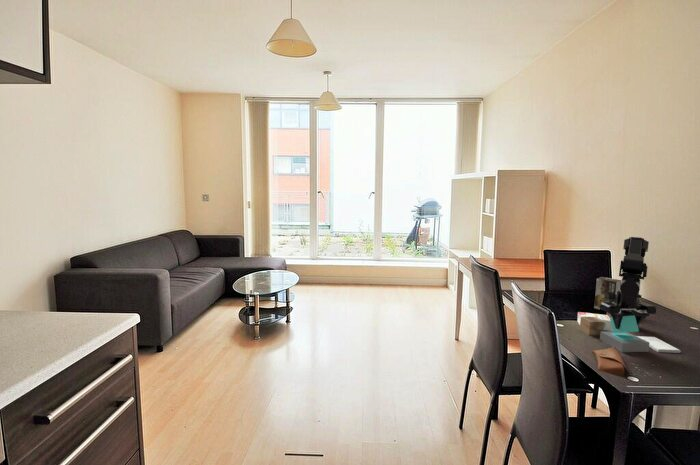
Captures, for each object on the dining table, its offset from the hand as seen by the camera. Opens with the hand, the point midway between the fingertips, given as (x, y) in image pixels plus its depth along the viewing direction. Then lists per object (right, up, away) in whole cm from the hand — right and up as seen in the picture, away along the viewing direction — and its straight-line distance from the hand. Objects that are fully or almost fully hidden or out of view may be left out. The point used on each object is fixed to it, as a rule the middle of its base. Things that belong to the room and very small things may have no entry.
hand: (625, 328), depth 143 cm
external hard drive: (+14, -8, +2) cm, 16 cm away
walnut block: (-5, -5, +14) cm, 15 cm away
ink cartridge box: (-4, -2, +22) cm, 23 cm away
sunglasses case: (-16, -9, -14) cm, 23 cm away
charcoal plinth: (0, -7, +1) cm, 7 cm away
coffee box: (+24, -2, +44) cm, 50 cm away
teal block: (0, -1, 0) cm, 1 cm away
